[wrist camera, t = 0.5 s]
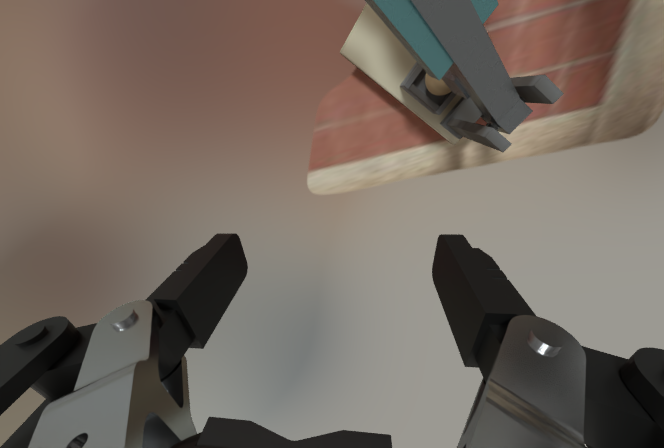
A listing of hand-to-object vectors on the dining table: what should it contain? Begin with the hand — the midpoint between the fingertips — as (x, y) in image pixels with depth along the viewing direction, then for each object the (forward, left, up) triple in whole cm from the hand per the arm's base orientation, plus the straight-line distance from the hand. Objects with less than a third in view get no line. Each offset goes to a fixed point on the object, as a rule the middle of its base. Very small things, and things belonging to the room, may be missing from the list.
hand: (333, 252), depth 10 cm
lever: (-12, +3, -20) cm, 23 cm away
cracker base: (-12, +3, -28) cm, 31 cm away
